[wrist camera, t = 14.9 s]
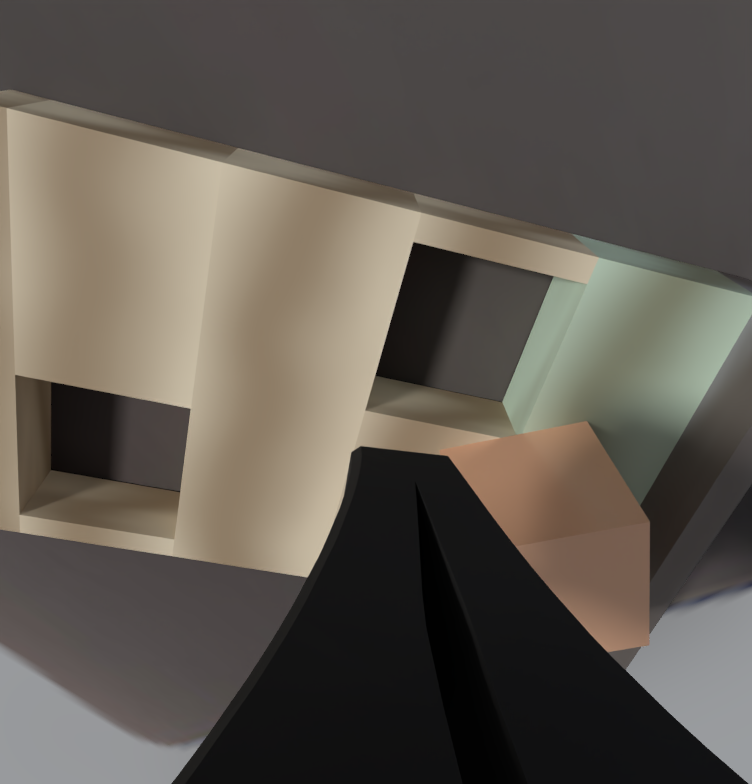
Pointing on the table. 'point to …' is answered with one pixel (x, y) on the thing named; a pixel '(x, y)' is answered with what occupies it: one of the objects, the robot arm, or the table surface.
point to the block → (570, 524)
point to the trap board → (325, 344)
